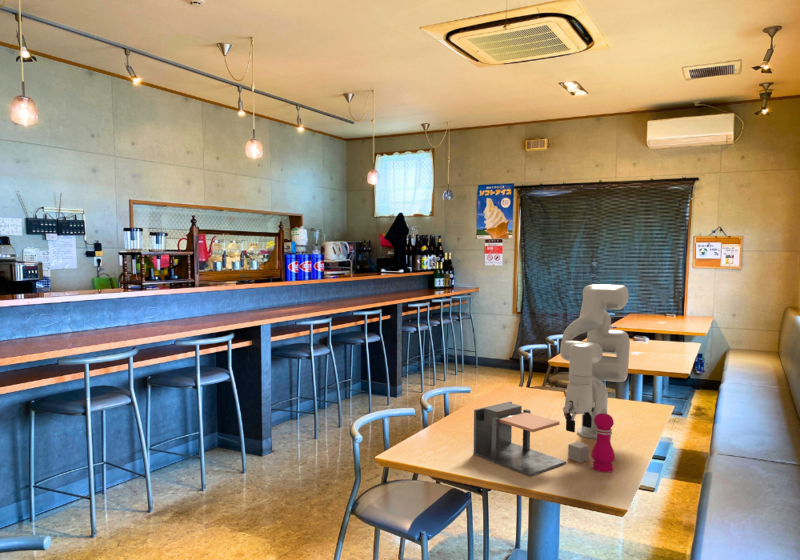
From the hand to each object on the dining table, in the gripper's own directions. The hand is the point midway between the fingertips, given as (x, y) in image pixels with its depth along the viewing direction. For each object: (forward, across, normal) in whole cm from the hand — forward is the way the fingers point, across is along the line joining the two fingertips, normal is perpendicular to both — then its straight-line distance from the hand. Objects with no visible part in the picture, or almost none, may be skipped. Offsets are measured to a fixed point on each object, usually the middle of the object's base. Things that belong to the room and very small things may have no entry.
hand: (578, 429), depth 194 cm
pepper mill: (+11, +1, +10) cm, 15 cm away
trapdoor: (-1, +16, -12) cm, 20 cm away
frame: (+11, +16, -13) cm, 23 cm away
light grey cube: (+11, -1, 0) cm, 11 cm away
